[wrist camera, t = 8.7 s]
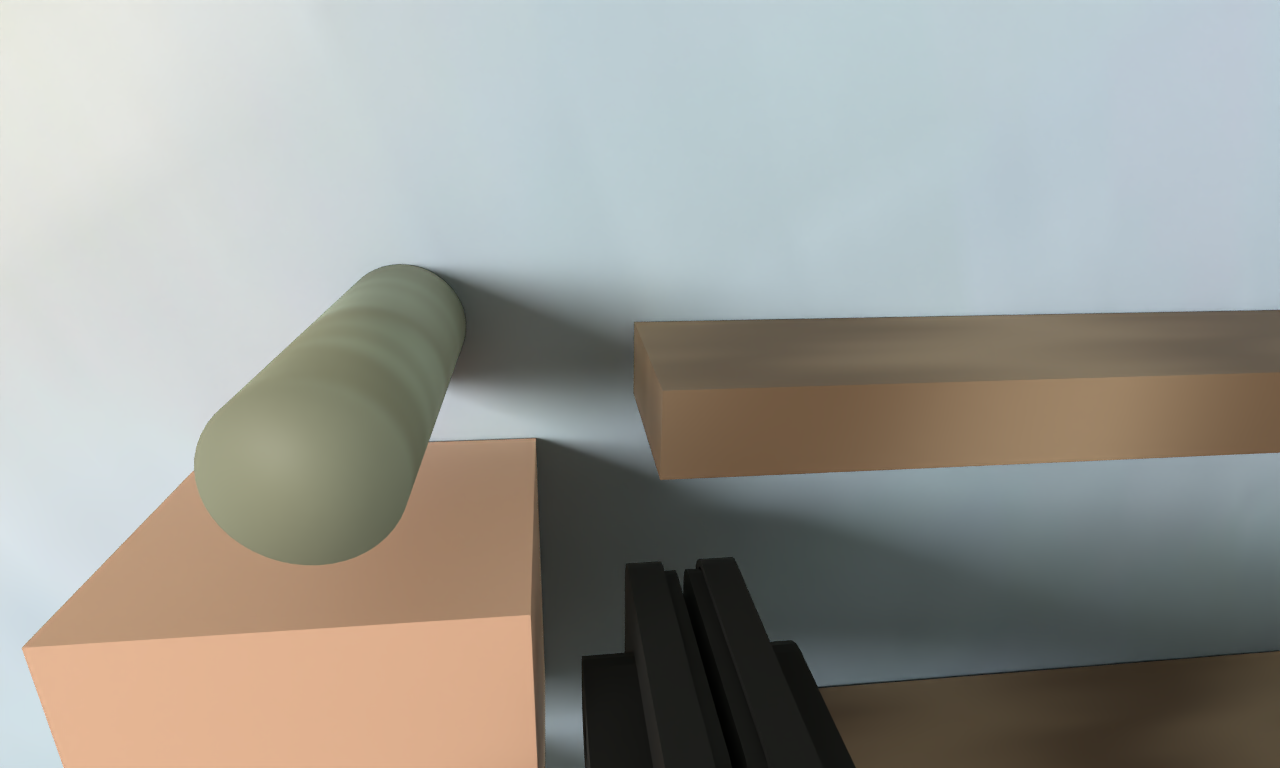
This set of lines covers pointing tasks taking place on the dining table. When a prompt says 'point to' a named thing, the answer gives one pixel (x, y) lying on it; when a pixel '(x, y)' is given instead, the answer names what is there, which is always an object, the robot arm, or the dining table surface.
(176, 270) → the dining table surface
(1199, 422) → the chute
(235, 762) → the block
